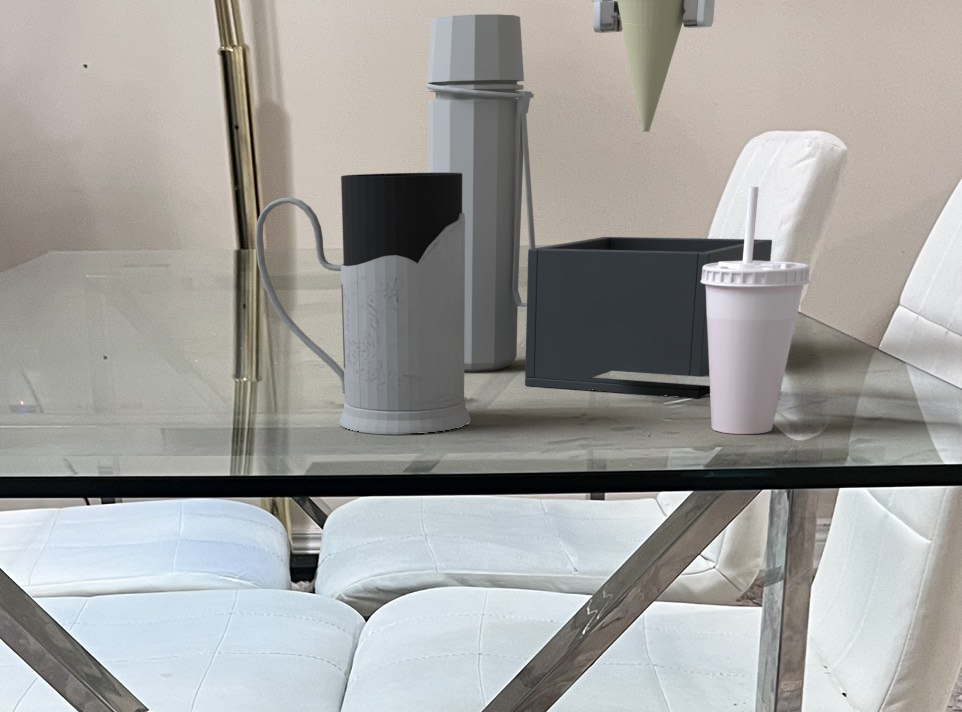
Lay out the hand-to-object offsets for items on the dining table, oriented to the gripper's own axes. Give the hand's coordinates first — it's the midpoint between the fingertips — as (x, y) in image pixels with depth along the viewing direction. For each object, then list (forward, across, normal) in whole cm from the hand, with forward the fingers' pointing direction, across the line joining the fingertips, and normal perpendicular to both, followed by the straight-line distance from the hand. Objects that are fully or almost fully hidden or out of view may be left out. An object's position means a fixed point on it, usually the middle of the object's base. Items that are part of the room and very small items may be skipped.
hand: (651, 29), depth 93 cm
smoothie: (+23, -12, +11) cm, 29 cm away
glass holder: (+24, +11, +19) cm, 32 cm away
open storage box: (+23, +1, -5) cm, 24 cm away
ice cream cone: (+6, 0, 0) cm, 6 cm away
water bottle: (+24, +15, -5) cm, 28 cm away
